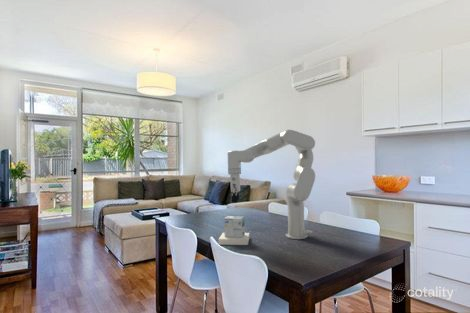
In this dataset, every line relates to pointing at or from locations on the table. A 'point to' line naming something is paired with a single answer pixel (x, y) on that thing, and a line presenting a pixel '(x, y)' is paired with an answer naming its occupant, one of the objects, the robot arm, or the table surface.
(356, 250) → the table surface
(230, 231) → the light bulb box
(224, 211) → the table surface
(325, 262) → the table surface
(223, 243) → the base block
